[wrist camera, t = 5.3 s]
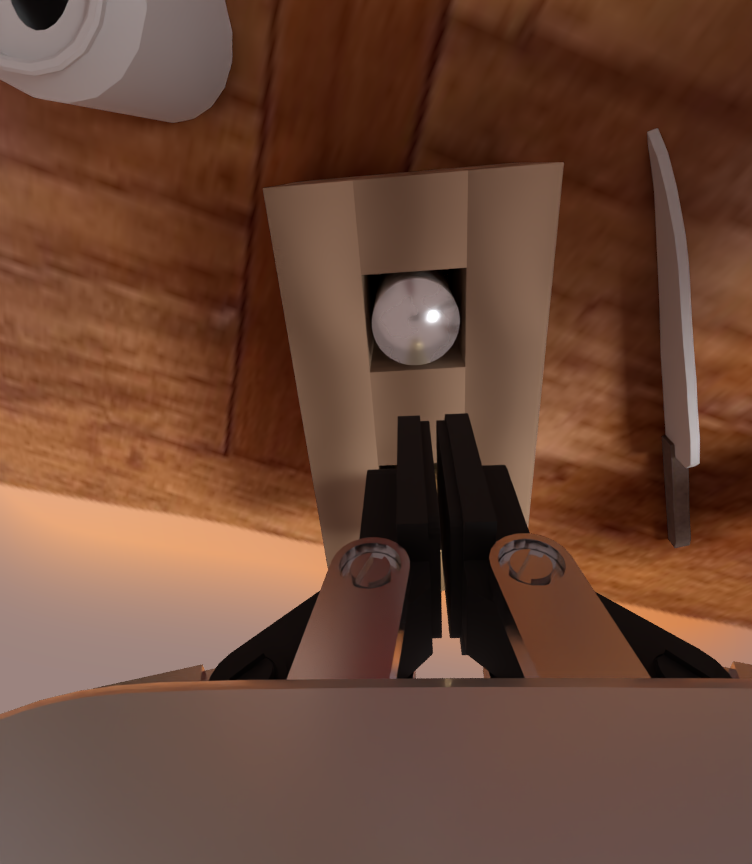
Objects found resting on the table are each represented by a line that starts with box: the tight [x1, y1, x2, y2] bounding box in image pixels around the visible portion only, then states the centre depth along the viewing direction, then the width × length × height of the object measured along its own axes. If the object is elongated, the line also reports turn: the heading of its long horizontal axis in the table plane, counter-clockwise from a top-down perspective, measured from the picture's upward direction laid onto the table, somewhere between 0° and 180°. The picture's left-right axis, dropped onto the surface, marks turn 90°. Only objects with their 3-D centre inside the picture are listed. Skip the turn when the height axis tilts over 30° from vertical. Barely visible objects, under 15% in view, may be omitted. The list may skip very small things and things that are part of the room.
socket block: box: [263, 162, 564, 569], centre depth 28 cm, size 12×22×9 cm, turn 4°
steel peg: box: [372, 269, 460, 365], centre depth 26 cm, size 4×4×8 cm
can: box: [0, 0, 232, 123], centre depth 19 cm, size 8×8×12 cm
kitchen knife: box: [647, 128, 700, 548], centre depth 31 cm, size 4×1×30 cm
